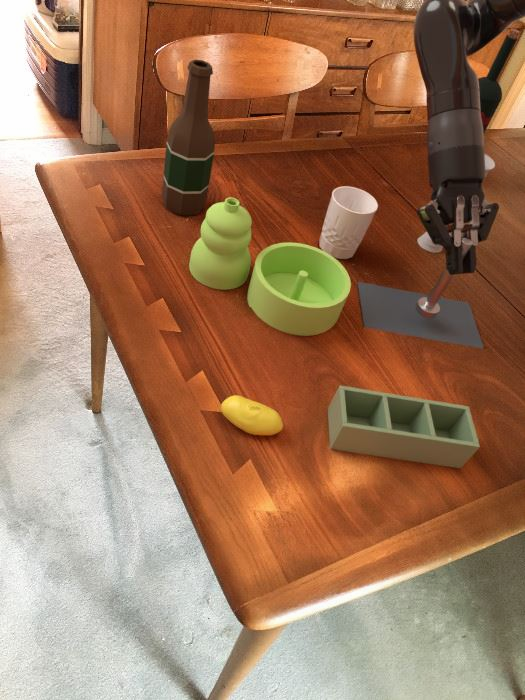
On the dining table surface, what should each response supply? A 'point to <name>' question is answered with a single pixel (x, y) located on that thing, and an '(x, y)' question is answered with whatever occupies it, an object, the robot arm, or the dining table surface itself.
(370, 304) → the mat
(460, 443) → the caddy
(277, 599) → the dining table surface
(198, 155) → the beer bottle
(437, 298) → the metal rod stand
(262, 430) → the yellow potato
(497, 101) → the wine bottle
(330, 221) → the white cup
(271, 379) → the dining table surface
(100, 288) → the dining table surface
